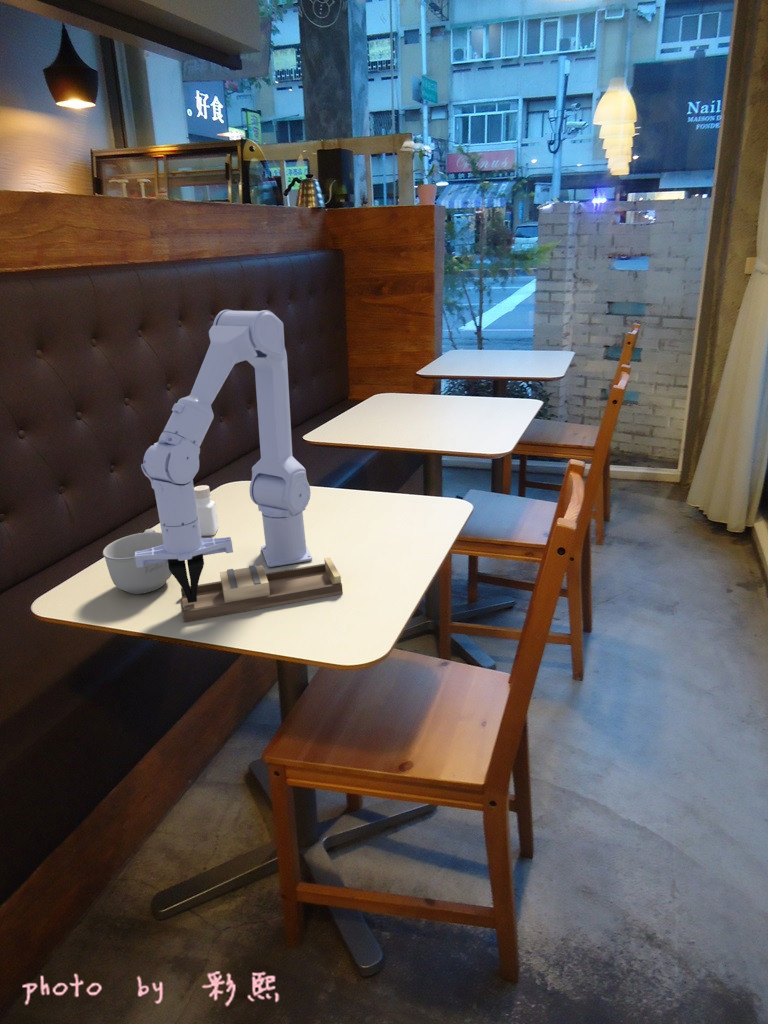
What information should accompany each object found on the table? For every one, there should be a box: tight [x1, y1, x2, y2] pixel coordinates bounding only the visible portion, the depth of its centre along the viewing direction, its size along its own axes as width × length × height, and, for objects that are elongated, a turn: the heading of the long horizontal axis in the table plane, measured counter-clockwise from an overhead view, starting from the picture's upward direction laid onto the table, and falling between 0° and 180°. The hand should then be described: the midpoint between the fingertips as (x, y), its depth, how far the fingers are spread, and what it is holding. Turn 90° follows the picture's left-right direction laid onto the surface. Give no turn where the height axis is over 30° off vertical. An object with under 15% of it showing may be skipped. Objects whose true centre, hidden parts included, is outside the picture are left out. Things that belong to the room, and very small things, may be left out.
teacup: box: [102, 528, 173, 595], centre depth 128 cm, size 14×11×8 cm
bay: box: [180, 557, 344, 623], centre depth 122 cm, size 9×25×3 cm, turn 106°
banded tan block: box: [219, 564, 270, 603], centre depth 121 cm, size 7×7×3 cm
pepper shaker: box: [194, 484, 220, 537], centre depth 148 cm, size 4×4×10 cm
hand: (192, 599), depth 119 cm, fingers closed
